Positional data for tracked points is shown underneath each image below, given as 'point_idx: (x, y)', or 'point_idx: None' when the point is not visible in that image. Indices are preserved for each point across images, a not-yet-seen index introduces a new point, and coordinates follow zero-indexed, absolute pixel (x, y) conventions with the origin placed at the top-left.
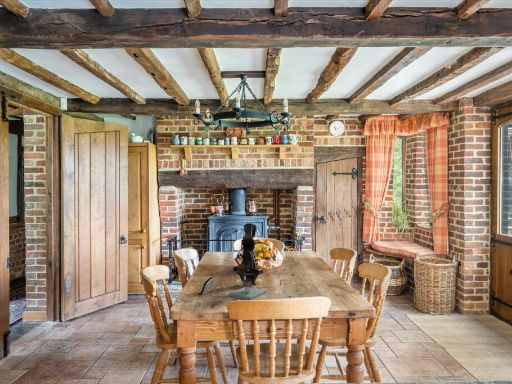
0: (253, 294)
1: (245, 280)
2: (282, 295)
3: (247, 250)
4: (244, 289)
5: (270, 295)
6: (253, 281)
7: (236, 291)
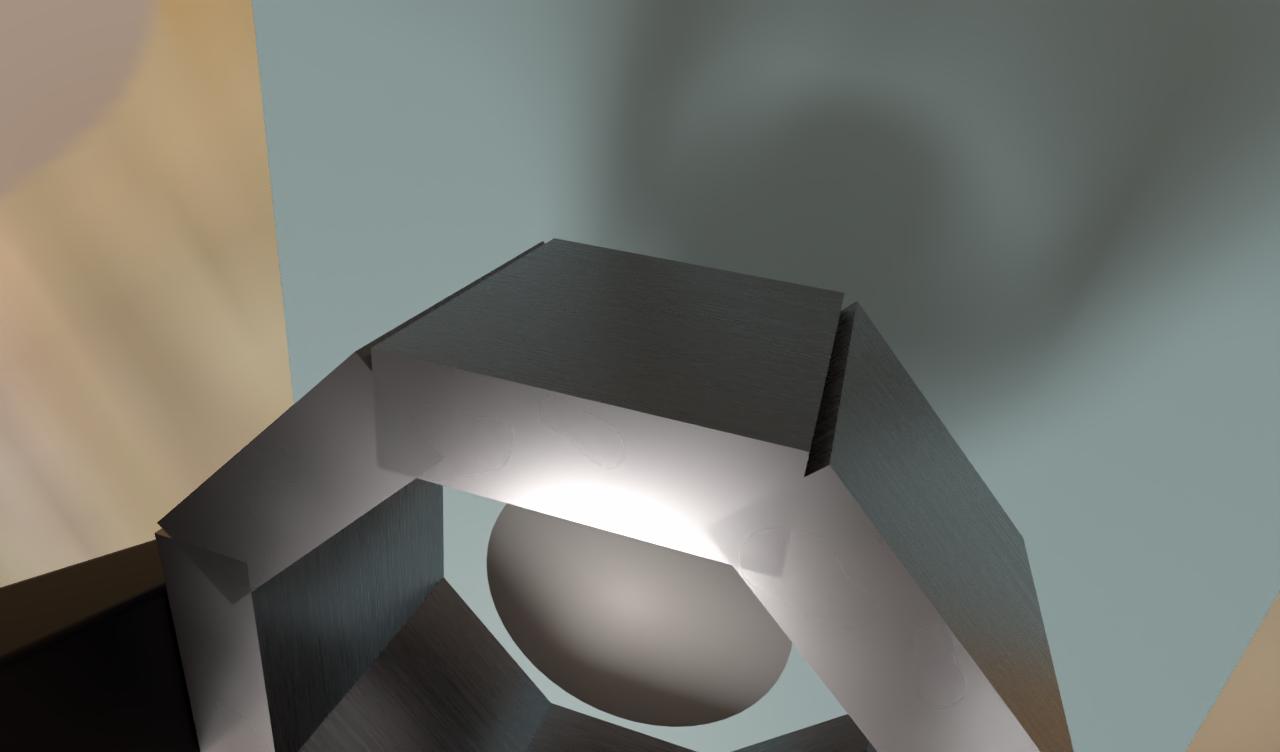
0: (380, 165)
1: None
2: (22, 521)
3: None
4: None
5: (183, 459)
6: (43, 577)
7: (1275, 336)
